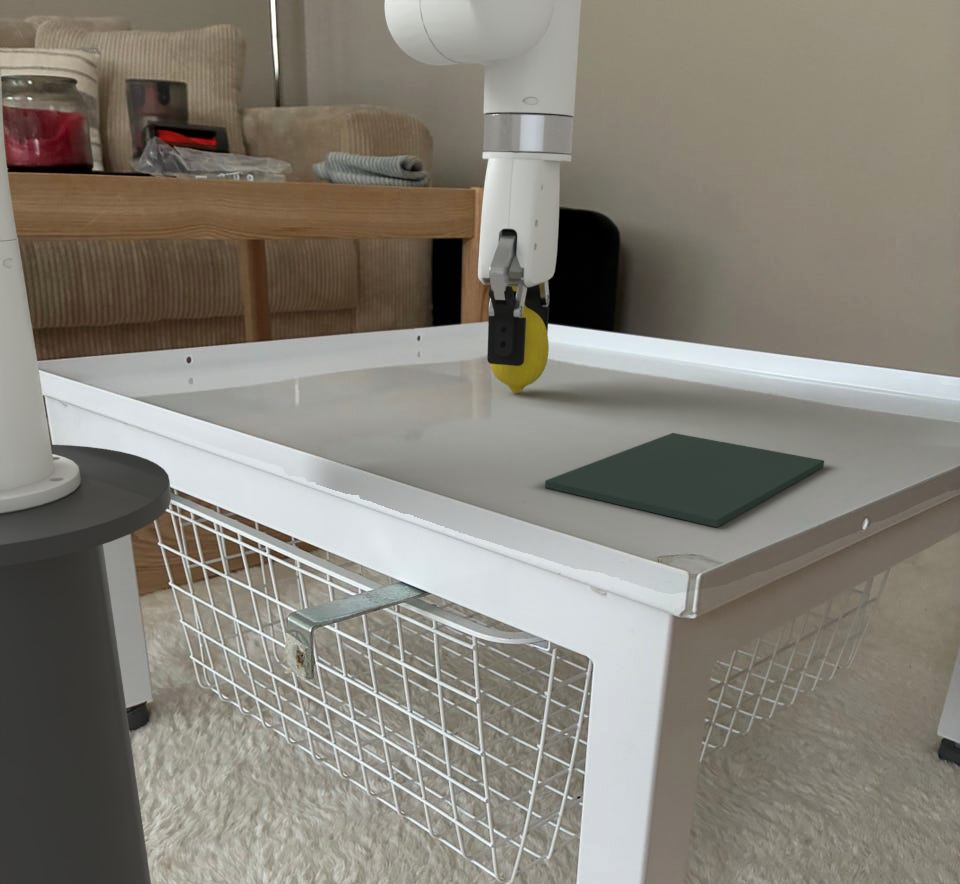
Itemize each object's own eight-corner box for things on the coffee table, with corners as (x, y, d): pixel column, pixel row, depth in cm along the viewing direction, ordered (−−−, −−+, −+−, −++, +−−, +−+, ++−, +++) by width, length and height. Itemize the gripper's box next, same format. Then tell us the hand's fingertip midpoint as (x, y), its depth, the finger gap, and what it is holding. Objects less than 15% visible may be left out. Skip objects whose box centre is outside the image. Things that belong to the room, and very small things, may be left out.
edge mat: (717, 527, 57) (718, 519, 57) (544, 487, 63) (545, 480, 63) (823, 467, 70) (824, 460, 70) (671, 439, 76) (672, 432, 76)
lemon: (540, 401, 88) (545, 307, 85) (480, 396, 89) (482, 304, 86) (550, 390, 93) (556, 301, 89) (494, 385, 94) (497, 297, 91)
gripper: (511, 144, 91) (504, 341, 98) (452, 136, 75) (448, 369, 83) (591, 146, 89) (577, 346, 96) (547, 138, 74) (534, 376, 81)
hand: (518, 355), depth 90 cm, fingers open, 7 cm apart
